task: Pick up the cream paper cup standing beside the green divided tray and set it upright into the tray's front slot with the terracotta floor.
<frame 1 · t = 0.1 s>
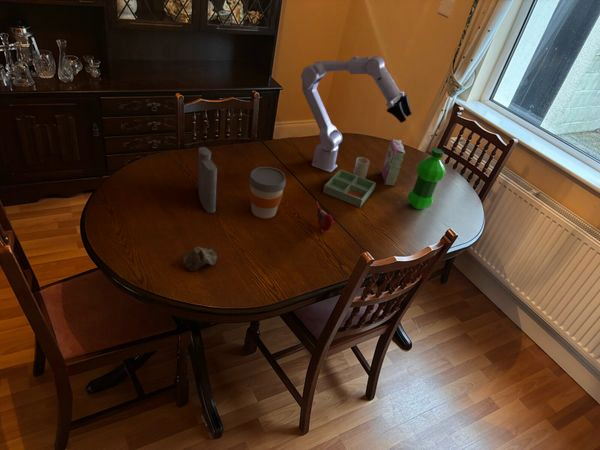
hand: (406, 118, 168), 32 cm above the table, tool tilted 50°, fingers open, 7 cm apart
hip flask: (205, 201, 162), on the table
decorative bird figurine: (319, 228, 159), on the table
paper cup: (358, 176, 192), on the table
plastic bottle: (417, 206, 180), on the table
candy bar box: (387, 179, 194), on the table
reusable coffee cup: (263, 211, 162), on the table
green divided tray: (348, 191, 181), on the table
grey lumpy rock: (199, 264, 135), on the table
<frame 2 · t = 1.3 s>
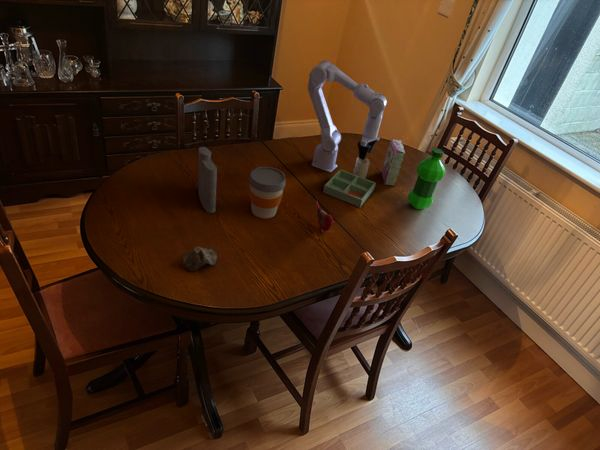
hand: (364, 155, 186), 10 cm above the table, tool pointing down, fingers open, 7 cm apart
nothing on the table moved.
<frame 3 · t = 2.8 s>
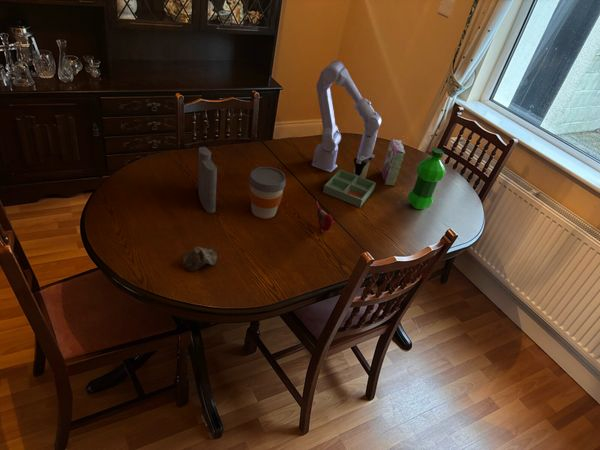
hand: (360, 171, 191), 2 cm above the table, tool pointing down, fingers closed on paper cup, 6 cm apart
paper cup: (359, 176, 192), on the table, touching gripper
everything else where it was.
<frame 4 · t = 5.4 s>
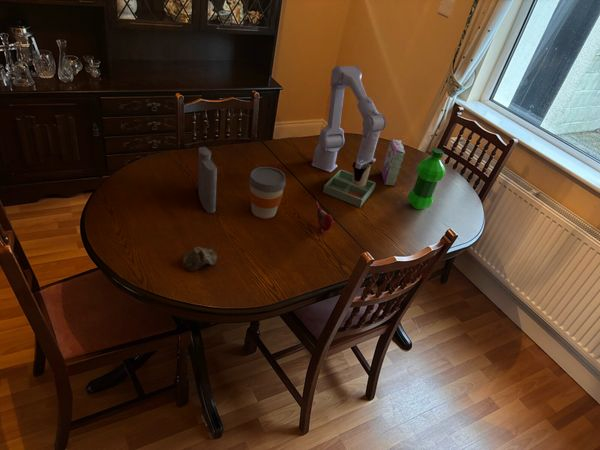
hand: (359, 177, 173), 9 cm above the table, tool pointing down, fingers closed on paper cup, 6 cm apart
paper cup: (358, 182, 174), point 7 cm above the table, touching gripper
everything else where it was.
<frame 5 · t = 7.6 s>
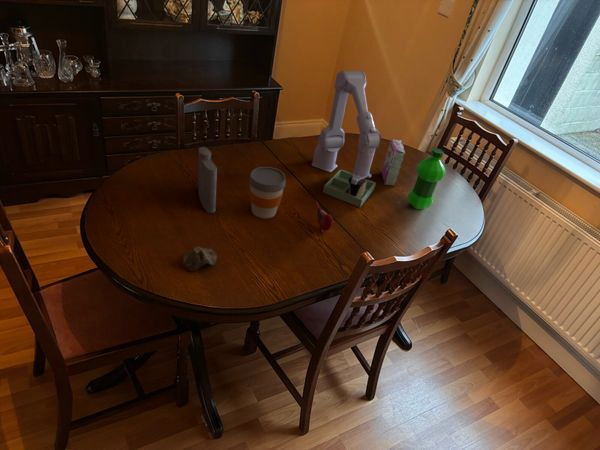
hand: (356, 192, 175), 3 cm above the table, tool pointing down, fingers closed on paper cup, 6 cm apart
paper cup: (354, 197, 177), point 1 cm above the table, touching gripper
everything else where it was.
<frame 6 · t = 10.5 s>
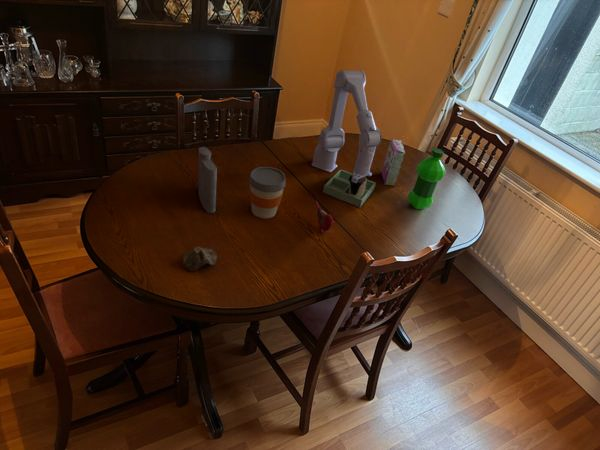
hand: (356, 190, 175), 4 cm above the table, tool pointing down, fingers closed on paper cup, 6 cm apart
paper cup: (355, 195, 176), point 2 cm above the table, touching gripper
everything else where it was.
when the fingers open (4 cm above the table, at t = 13.1 s): paper cup stays where it is, resting on green divided tray.
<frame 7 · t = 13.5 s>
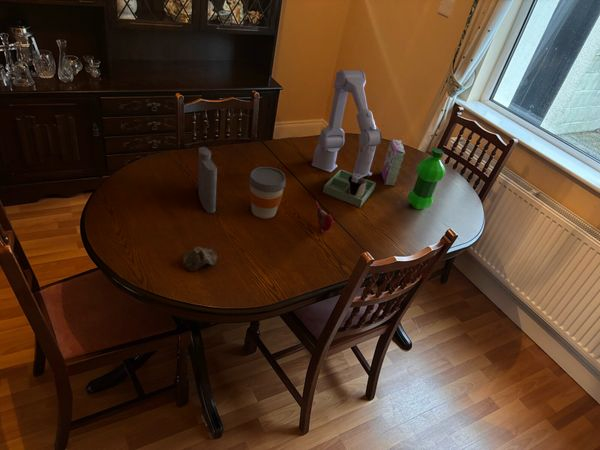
hand: (356, 190, 175), 4 cm above the table, tool pointing down, fingers open, 7 cm apart
paper cup: (354, 197, 177), point 1 cm above the table, touching green divided tray
everything else where it was.
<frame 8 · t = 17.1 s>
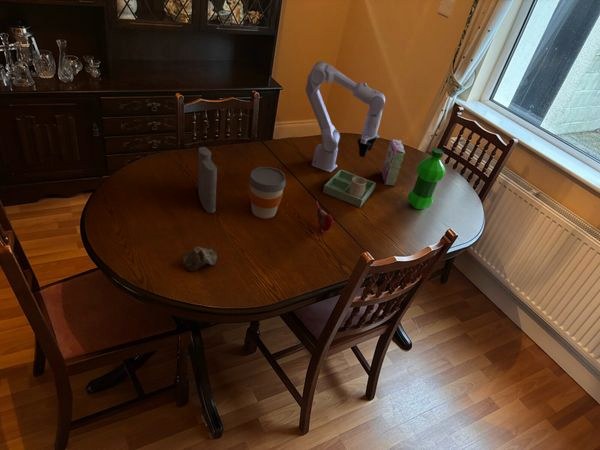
hand: (364, 153, 188), 10 cm above the table, tool pointing down, fingers open, 7 cm apart
nothing on the table moved.
at the end: paper cup 0.1 cm from the target spot in the green divided tray, point 0.7 cm above the green divided tray's base; paper cup tilted 0°; the gripper is holding nothing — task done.
